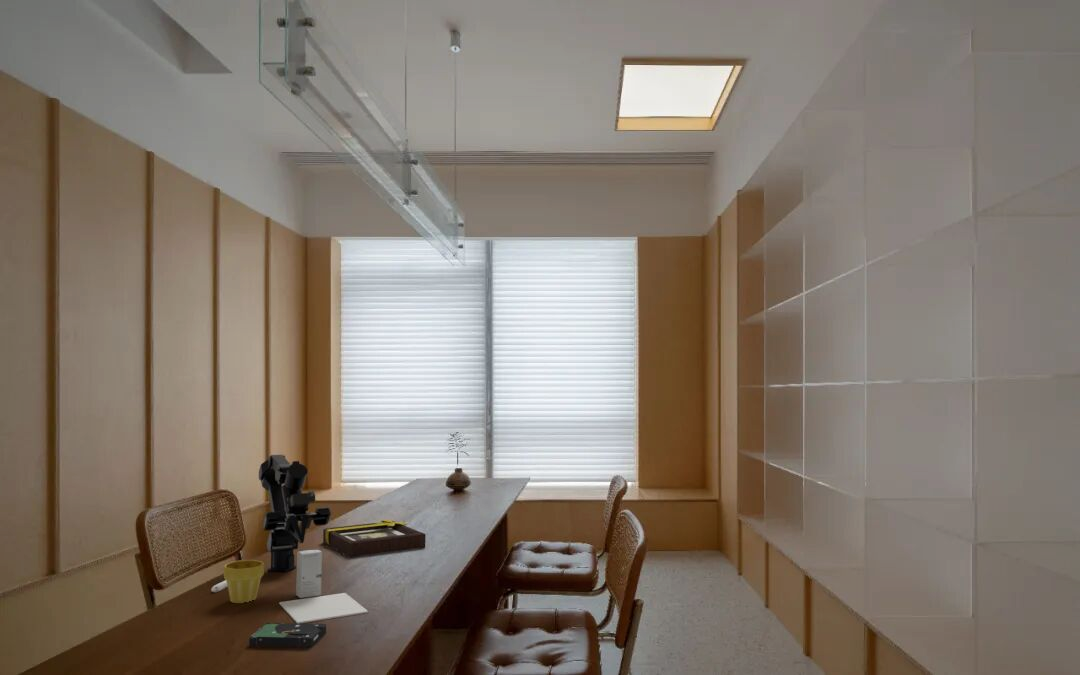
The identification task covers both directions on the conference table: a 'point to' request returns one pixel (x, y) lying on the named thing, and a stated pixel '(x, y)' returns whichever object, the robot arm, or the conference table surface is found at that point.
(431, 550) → the conference table surface
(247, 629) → the conference table surface
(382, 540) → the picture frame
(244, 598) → the plant pot
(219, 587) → the marker
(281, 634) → the disk drive
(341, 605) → the mat
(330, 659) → the conference table surface
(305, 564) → the skincare box
